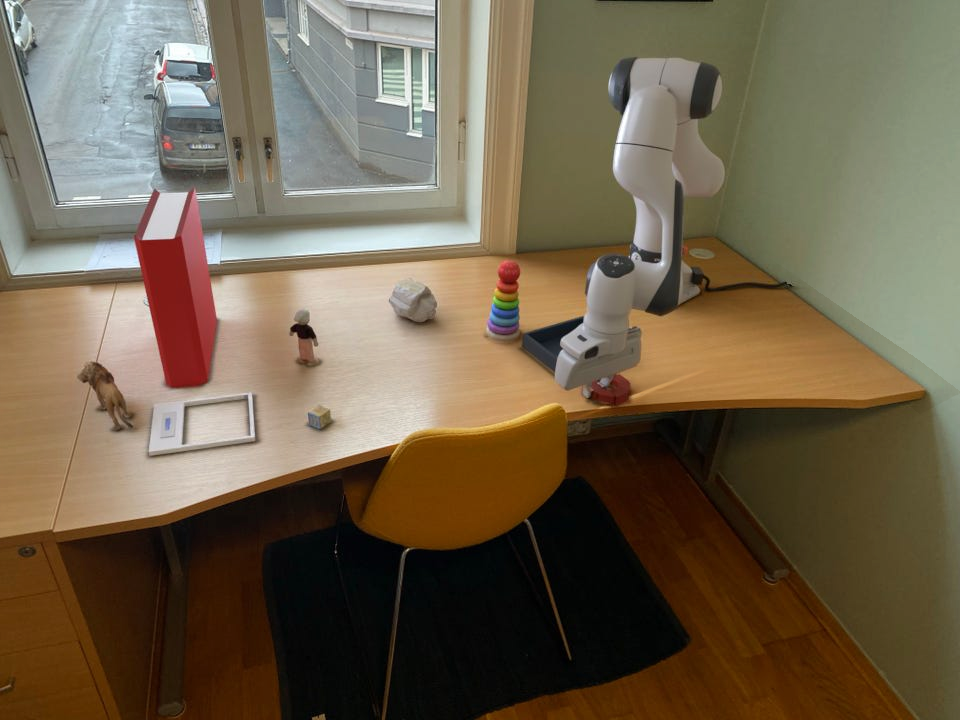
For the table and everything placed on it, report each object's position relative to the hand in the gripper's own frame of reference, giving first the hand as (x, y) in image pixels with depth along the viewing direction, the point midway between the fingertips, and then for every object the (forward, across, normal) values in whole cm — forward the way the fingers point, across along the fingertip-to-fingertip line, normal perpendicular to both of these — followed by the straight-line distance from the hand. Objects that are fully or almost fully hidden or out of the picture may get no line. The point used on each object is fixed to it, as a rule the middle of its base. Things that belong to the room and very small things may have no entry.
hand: (594, 393), depth 151 cm
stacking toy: (+1, +2, -30) cm, 30 cm away
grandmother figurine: (+1, +46, -41) cm, 62 cm away
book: (+1, +66, -56) cm, 87 cm away
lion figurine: (+1, +86, -41) cm, 95 cm away
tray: (+1, -6, -16) cm, 17 cm away
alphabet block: (+1, +52, -19) cm, 56 cm away
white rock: (+1, +16, -48) cm, 51 cm away
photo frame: (+1, +72, -29) cm, 77 cm away
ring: (+1, -3, 0) cm, 4 cm away
